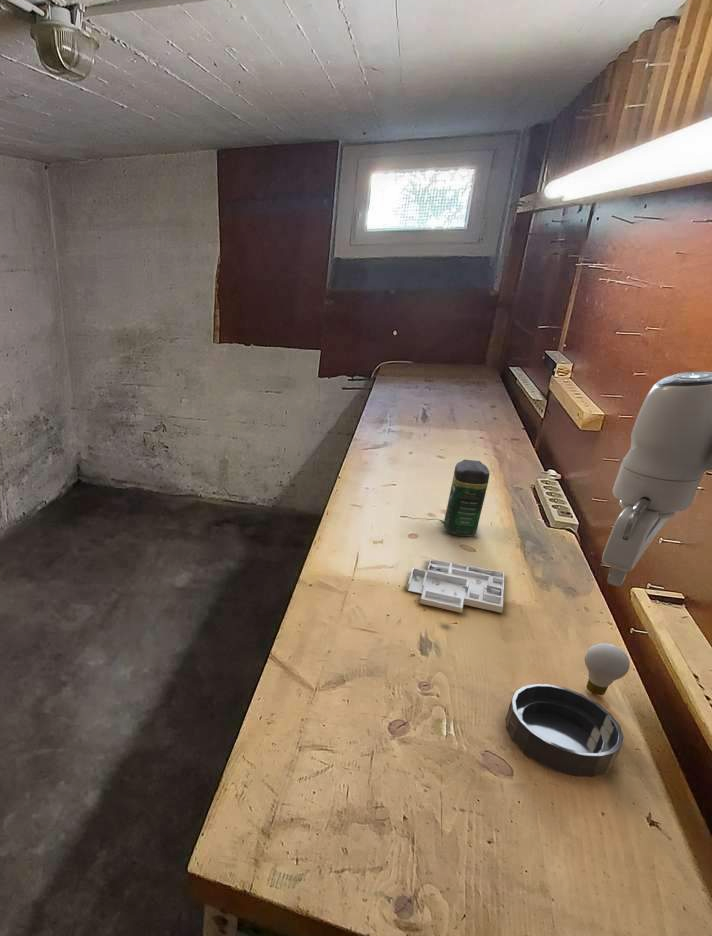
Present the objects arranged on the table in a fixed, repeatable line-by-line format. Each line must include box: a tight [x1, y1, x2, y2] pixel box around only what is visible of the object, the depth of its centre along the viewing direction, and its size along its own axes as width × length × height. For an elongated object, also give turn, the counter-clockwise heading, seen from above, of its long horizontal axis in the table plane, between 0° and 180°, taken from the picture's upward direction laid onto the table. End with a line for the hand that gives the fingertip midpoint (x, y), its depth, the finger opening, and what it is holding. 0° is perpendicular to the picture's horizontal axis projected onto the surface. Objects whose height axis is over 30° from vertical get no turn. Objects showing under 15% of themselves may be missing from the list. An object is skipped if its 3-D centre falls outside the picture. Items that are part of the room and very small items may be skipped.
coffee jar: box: [443, 459, 491, 537], centre depth 145 cm, size 10×8×19 cm
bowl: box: [504, 683, 625, 778], centre depth 86 cm, size 14×14×5 cm
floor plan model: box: [406, 558, 505, 614], centre depth 122 cm, size 19×25×2 cm
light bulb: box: [584, 642, 631, 696], centre depth 94 cm, size 6×6×10 cm
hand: (623, 570), depth 86 cm, fingers open, 8 cm apart
